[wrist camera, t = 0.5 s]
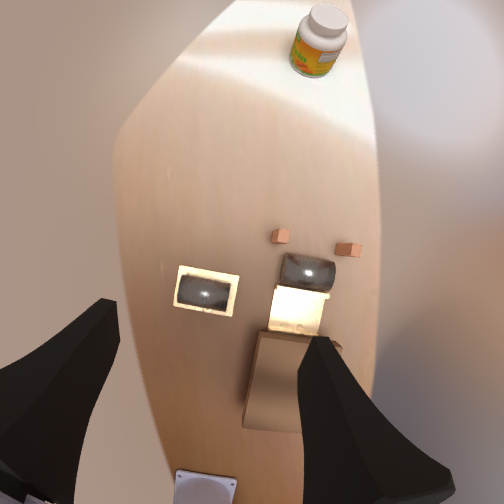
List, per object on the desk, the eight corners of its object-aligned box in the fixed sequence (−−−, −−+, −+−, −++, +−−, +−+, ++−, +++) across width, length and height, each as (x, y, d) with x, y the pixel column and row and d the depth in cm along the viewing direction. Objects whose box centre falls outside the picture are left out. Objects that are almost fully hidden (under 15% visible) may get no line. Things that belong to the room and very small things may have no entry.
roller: (231, 281, 34) (230, 284, 31) (226, 309, 34) (225, 314, 31) (184, 273, 34) (180, 275, 31) (180, 300, 34) (175, 305, 31)
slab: (313, 423, 31) (318, 434, 29) (241, 416, 31) (242, 427, 29) (335, 340, 31) (342, 347, 29) (259, 330, 31) (261, 337, 29)
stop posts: (343, 256, 35) (360, 257, 30) (271, 242, 34) (277, 241, 29) (345, 245, 35) (362, 244, 30) (273, 231, 34) (279, 228, 29)
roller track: (295, 416, 35) (300, 430, 31) (162, 396, 34) (156, 408, 31) (331, 261, 35) (340, 262, 31) (185, 234, 34) (180, 233, 31)
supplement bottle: (282, 50, 34) (294, 1, 24) (319, 42, 34) (339, -4, 25) (300, 83, 34) (319, 37, 24) (338, 74, 34) (364, 31, 25)
